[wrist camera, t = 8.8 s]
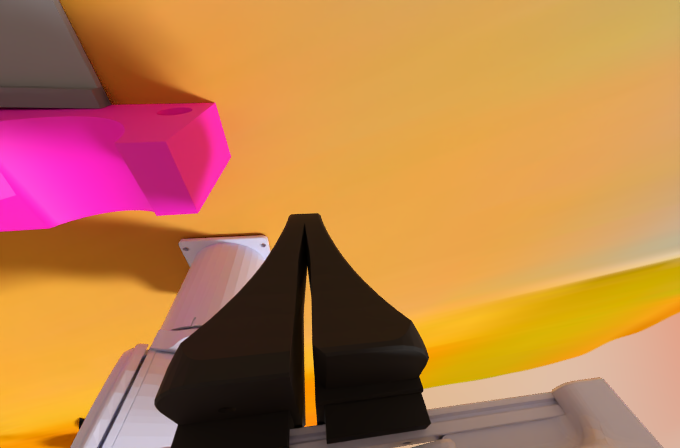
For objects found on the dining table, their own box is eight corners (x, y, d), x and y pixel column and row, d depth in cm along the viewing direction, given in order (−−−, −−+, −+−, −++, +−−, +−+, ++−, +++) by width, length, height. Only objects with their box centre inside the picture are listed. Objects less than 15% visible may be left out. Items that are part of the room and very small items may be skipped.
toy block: (38, 195, 18) (-85, 270, 13) (-43, 106, 14) (-275, 156, 9) (239, 184, 20) (213, 247, 14) (216, 102, 16) (165, 141, 10)
